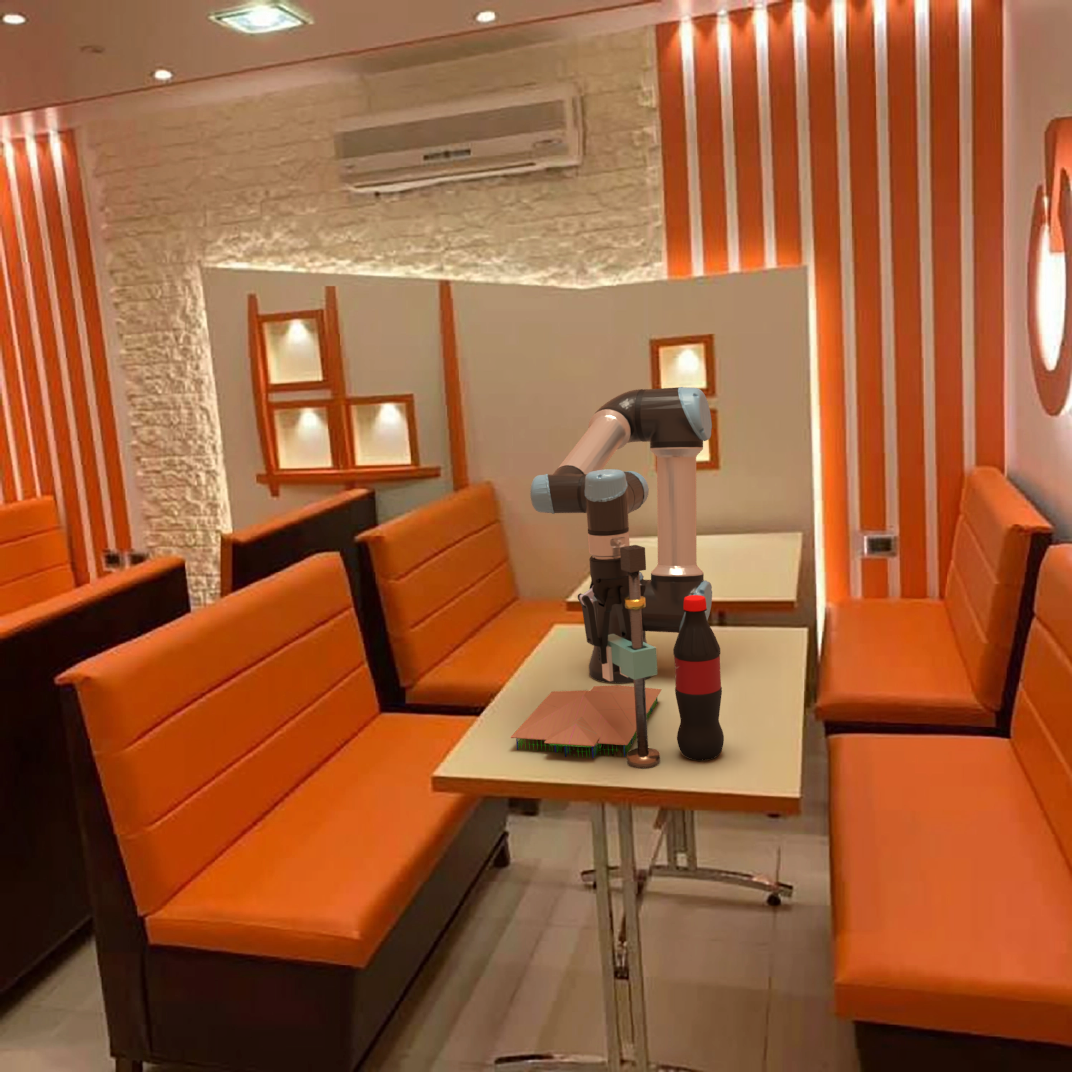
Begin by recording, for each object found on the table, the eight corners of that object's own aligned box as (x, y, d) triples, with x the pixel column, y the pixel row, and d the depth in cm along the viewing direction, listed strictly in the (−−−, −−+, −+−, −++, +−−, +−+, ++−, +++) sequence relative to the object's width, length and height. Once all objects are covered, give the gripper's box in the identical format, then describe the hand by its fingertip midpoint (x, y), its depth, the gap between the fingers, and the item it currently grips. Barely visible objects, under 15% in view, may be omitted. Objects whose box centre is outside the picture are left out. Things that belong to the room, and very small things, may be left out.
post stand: (621, 759, 192) (609, 547, 185) (648, 752, 195) (638, 542, 187) (637, 771, 187) (626, 552, 179) (666, 763, 189) (656, 547, 182)
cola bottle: (719, 743, 196) (713, 589, 191) (728, 761, 188) (723, 600, 183) (674, 747, 196) (667, 592, 191) (682, 765, 188) (674, 604, 182)
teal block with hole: (596, 660, 197) (595, 634, 196) (619, 655, 199) (617, 630, 198) (634, 679, 184) (632, 652, 184) (657, 674, 186) (656, 647, 185)
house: (506, 759, 197) (503, 718, 196) (559, 698, 228) (556, 663, 226) (624, 767, 190) (622, 724, 188) (662, 704, 221) (660, 667, 219)
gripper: (580, 565, 185) (588, 691, 189) (658, 551, 191) (664, 674, 196) (561, 558, 191) (569, 680, 196) (637, 545, 198) (643, 663, 202)
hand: (616, 676), depth 196 cm, fingers closed on teal block with hole, 3 cm apart
